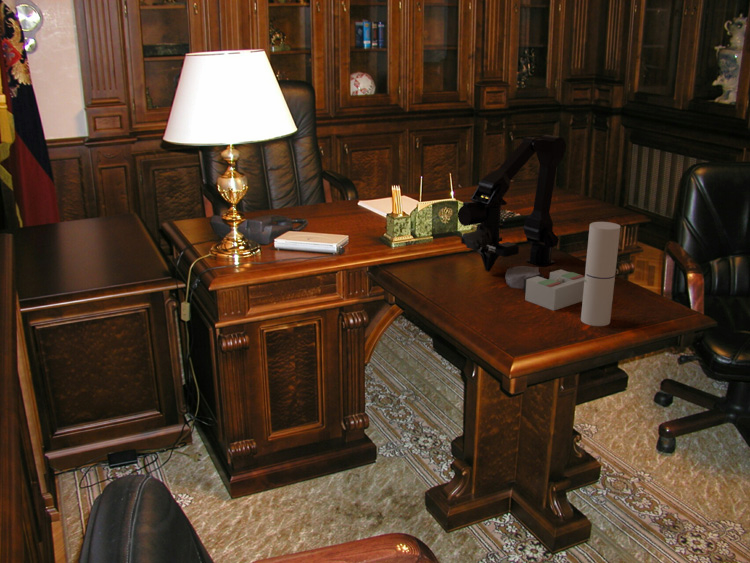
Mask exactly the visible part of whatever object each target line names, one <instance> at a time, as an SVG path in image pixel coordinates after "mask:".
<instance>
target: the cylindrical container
mask: <svg viewBox="0 0 750 563" xmlns="http://www.w3.org/2000/svg"><path fill="white" fill-rule="evenodd" d="M588 230H589V231H588V241H587V251H586V259H585V260H586V261H585V269H584V270H585V271H584V272H585V273H584V277H585V281H584V291H583V301H581V302H582V303H581V304H582V306H581V313H580V321H581V322H582V323H583V324H585V325H589V326H592V327H605V326H608V325H609V324H611V316H612V307H613V300H614V298H613V297H614V289H615V288H614V287H615V278H616V271H617V260H618V254H619V252H618V251H619V243H620V234H621V225H620V224H618V223H614V222H610V221H595V222H594V221H593V222H591V223H590V224H589V229H588Z"/></svg>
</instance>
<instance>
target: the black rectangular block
mask: <svg viewBox="0 0 750 563" xmlns="http://www.w3.org/2000/svg"><path fill="white" fill-rule="evenodd" d="M536 276H539V277H542V278H544V274H542V273H540V274H539V275H536ZM536 276H532V277H529V278H533V277H536ZM529 278H525V279H524V287H523V288H522V290H523V293H525V294H526V280H527V279H529ZM554 281H557V282H560V283H561V284H562V283H563V278H559V279H556V280H554Z"/></svg>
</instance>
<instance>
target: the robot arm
mask: <svg viewBox="0 0 750 563" xmlns="http://www.w3.org/2000/svg"><path fill="white" fill-rule="evenodd" d="M566 148H567V141H565V139H564V138H563V137H561V136H557V135H550V134H544V135H542V136H540V137H529V136H527V137H524V138H522V140H521V142H520V143H519V145H518V146H517V147H516V148H515V150H514V151H513V152H512V153H511V154H510V155H509V156H508V157H507V159H506V160H505V161H504V162H503V163H502V164H501V165H500V166H499V167H498V168H497V169H496V170H492V171H491V172H489V173H488V174H486V175H485V176H484V177H482V178H481V180H480V181H479V182H478V185H477V187H476V190H475V191H474V192H473V195H471V197H470V201H463V202H462V206H461V207H459V210H458V211H457V219H458V222H459V224H460V225H461V226H463V227H467V226H472V225H476V230H474V231H472V232H466V233H463V234H462V236H461V237H460V239H461V240H460V244H463V245H465V246H466V249H470V250H473V251H476V252H477V253H478V254H479V255H480V257H481V260H482V263H483V267H484V270H485V272H486V273H488V272H491V270H492V268H493V267H494V265H495V262H496V261H497V260H498V258H499V257H504V258H507V257H511V256H515V255H518V254H519V250H520V248H519V247H520V246H519V245H518V244H517V243H514V242H510V241H506V242H502V241H503V237H501V236H500V233H501V232H500V231H501V229H503V228H504V224H503V223H501V216H502V214H501V213H502V212H501V211H502V206H506V205H507V204H508V202H507V201H506V200H504V196H505V195H506V193H507V192H508V191H509V189H510V186H511V181H512V180H513V178H514V177H515V176H516V175H517V174H518V173H519V171H520V170H521V169H522V168H523V167H524V166H525V165H526V163H528V161H529V160H530V159H531V158H532V157H533V156H534V155H535V153H536V158H537V161H538V163H539V169H538V170H539V171H538V174H537V176H538V177H537V182H536V183H537V184H536V189H535V194H534V195H535V196H534V204H533V208H532V212H531V213H530V214H529V215H526V216H525V217H524V225H523V228H522V230H523V229H524V231H523V234H524V236H525V238H526V242H528V243H530V244H531V245H530V247H531V248H530V250H529V252H530V253H529V259H526V263H530V264H533V265H537V266H539V267H544V266H548V265H552V264H555V260H552V251H553V248H555V247H556V246H558V243H559V238H558V236H557V235H556V234H555V233H554V231H553V228H554V227H553V224H554V223H553V220H552V218H551V214H550V211H551V204H552V197H553V191H554V187H555V178H556V174H557V173H556V172H557V167H558V165H559V164H560V163H561V162H562V160H563V159H564V157H565V156H564V155H565V152H566ZM501 242H502V243H501Z"/></svg>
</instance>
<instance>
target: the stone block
mask: <svg viewBox="0 0 750 563" xmlns="http://www.w3.org/2000/svg"><path fill="white" fill-rule="evenodd" d="M539 274H541V273H540V272H539V267H538V266H536V267H533V266H527V265H518V266H512V267H509V268H507V270H506V273H505V277H504V278H505V282H506V284H507V286H509V287H510V288H512V289H523V287H524V279H525V278H529V277H532V276H536V275H539Z"/></svg>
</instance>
